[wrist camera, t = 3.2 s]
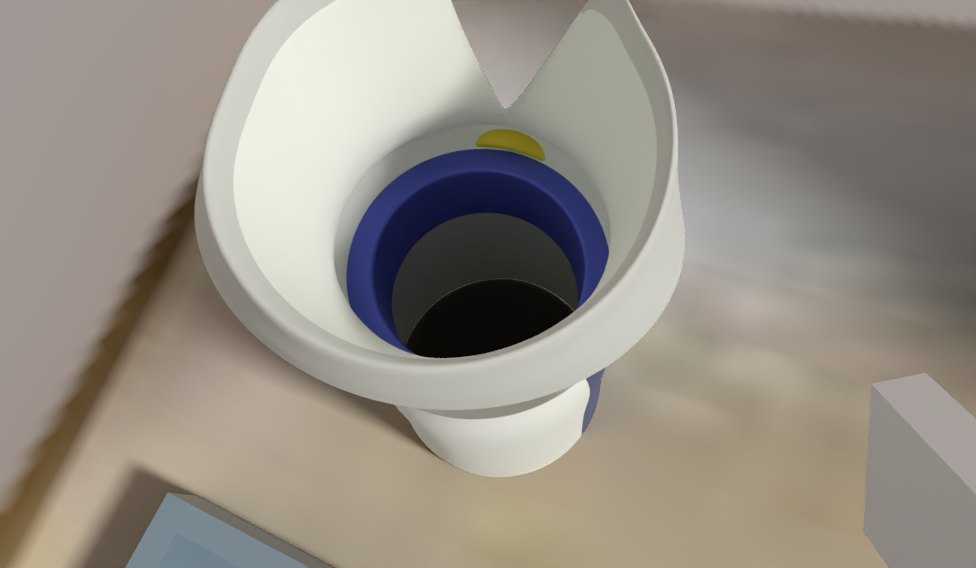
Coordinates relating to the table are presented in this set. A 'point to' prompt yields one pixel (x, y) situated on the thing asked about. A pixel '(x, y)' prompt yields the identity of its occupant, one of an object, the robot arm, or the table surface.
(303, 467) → the table surface
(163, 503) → the blue-gray tray
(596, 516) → the table surface
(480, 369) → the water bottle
